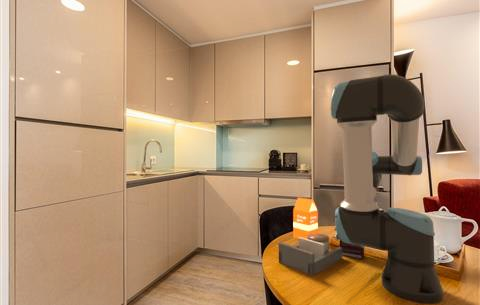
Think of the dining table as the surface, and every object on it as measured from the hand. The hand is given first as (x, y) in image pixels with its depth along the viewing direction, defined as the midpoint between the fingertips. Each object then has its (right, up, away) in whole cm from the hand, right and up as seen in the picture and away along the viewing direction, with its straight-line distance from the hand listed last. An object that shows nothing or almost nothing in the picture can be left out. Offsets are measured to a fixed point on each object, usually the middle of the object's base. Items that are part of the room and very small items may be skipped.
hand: (348, 242), depth 95 cm
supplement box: (+2, -7, +2) cm, 8 cm away
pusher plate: (-15, -5, -3) cm, 16 cm away
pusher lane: (-15, -7, -3) cm, 17 cm away
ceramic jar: (-12, -6, 0) cm, 13 cm away
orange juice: (-11, -8, +23) cm, 26 cm away
